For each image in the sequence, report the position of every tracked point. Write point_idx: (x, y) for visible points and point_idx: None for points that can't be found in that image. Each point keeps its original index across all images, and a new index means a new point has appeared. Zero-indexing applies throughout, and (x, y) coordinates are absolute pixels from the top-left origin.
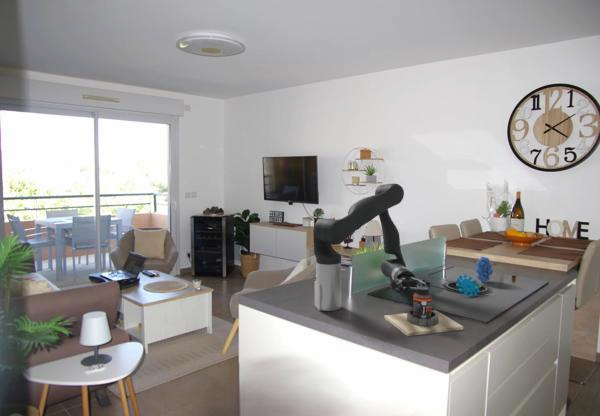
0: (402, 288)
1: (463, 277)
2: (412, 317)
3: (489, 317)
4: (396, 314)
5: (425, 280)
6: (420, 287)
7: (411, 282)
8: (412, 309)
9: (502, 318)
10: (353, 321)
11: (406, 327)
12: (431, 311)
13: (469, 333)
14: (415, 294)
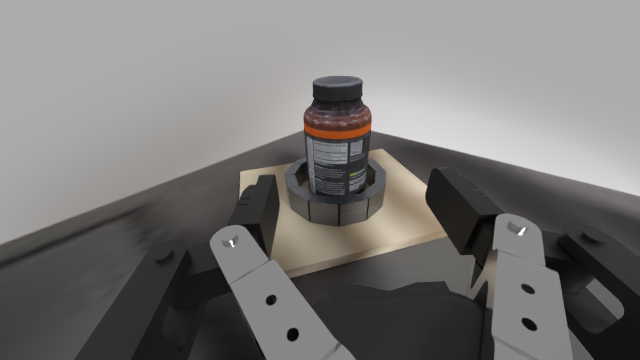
0: (436, 176)
1: None
2: (370, 159)
3: (63, 248)
4: (425, 231)
5: (126, 338)
6: (346, 79)
7: (364, 291)
8: (365, 195)
9: (30, 241)
10: (562, 207)
11: (384, 164)
12: (298, 186)
13: (242, 166)
14: (365, 105)
